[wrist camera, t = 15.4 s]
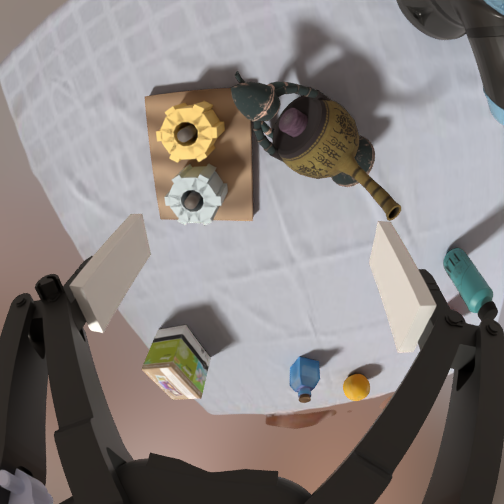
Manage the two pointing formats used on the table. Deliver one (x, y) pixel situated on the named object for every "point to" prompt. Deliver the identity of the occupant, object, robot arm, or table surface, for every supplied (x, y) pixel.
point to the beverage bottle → (470, 284)
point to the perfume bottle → (304, 377)
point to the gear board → (222, 157)
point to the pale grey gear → (202, 182)
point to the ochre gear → (194, 147)
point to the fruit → (356, 387)
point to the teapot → (312, 136)
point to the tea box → (177, 363)
